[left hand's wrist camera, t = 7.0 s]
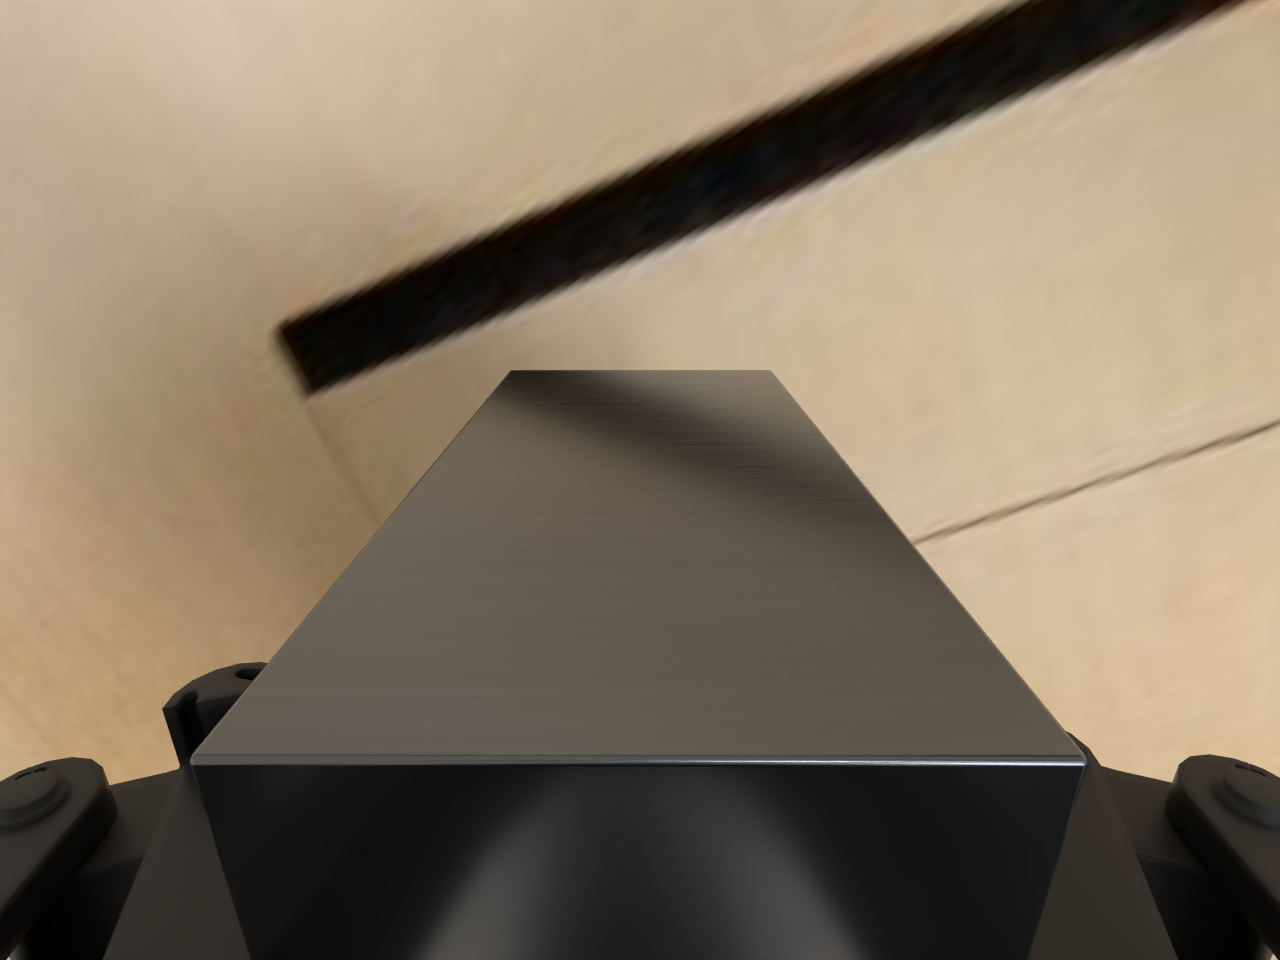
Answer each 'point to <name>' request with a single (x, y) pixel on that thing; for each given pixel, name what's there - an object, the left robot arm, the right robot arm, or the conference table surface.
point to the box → (639, 710)
